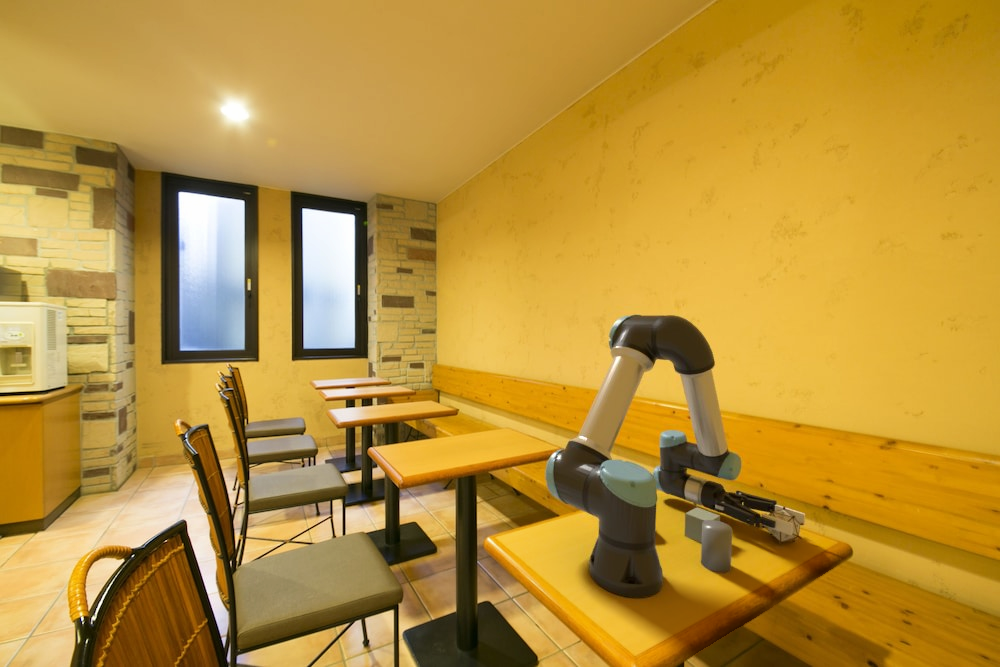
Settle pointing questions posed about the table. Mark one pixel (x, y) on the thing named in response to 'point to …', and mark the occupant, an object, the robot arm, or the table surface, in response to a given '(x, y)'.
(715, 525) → the gray cylinder
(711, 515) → the olive block
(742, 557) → the table surface
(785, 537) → the game die
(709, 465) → the robot arm
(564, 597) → the table surface
